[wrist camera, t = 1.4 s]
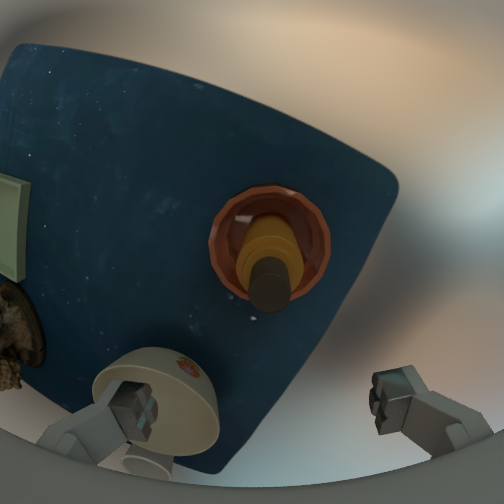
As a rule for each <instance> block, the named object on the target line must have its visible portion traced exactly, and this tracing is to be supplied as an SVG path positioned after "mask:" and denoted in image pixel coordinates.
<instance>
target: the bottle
mask: <svg viewBox="0 0 504 504" xmlns="http://www.w3.org/2000/svg"><path fill="white" fill-rule="evenodd" d="M303 271H304V264H303V259H302V256H301V253H300V250H299V247H298V244H297V241H296V238H295V235H294V232H293V229H292V226H291V224H290V223H289V221H288V220H287V219H286V218H285V217H283V216H282V215H280V214H277V213H273V212H267V213H263V214H260V215H258V216H256V217H255V218H254V219H253V220H252V221H251V223H250V224H249V226H248V229H247V232H246V235H245V238H244V241H243V243H242V246H241V249H240V252H239V255H238V258H237V262H236V273H237V277H238V280H239V282H240V283H241V285H242V286H243V288H244V289H245V290H246V291H248V298H249V301H250V303H251V304H252V305H253V306H254V307H255V308H256V309H257V310H259V311H261V312H265V313H274V312H278V311H280V310H282V309H283V308H285V307H286V306H287V304H288V303H289V301H290V299H291V292H292V291H293V290H294V289H295V288H296V287H297V286H298V284H299V283H300V281H301V279H302V276H303Z"/></svg>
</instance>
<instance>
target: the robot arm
mask: <svg viewBox="0 0 504 504" xmlns="http://www.w3.org/2000/svg"><path fill="white" fill-rule="evenodd" d="M372 384H373V388H372V389H371V390H370V394H369V405H370V410H371V413H372V414H373V415H374V416H376V419H375V425H376V428H377V430H378V434H379V435H384V434H389V433H394V432H399V431H401V432H402V433H403V434H404V435H405V436H407V437H408V438H409V439H411V440H412V441H413V442H414V443H416V444H417V445H418V446H420V447H421V448H422V449H424V450H425V451H426V452H428V453H429V454H430V455H432V457H431V459H430V460H428V461H424V462H421V463H418V464H414V465H411V466H407V467H404V468H400V469H397V470H393V471H388V472H384V473H379V474H375V475H370V476H366V477H360V478H355V479H349V480H343V481H336V482H329V483H321V484H312V485H302V486H287V487H257V488H256V487H247V488H246V487H221V486H206V485H195V484H186V483H178V482H171V481H164V480H158V479H152V478H146V477H141V476H136V475H132V474H127V473H123V472H118V471H114V470H110V469H106V468H103V467H99V466H97V464H98V463H100V462H101V461H102V460H104V459H105V458H106V457H107V456H109V455H110V454H111V453H112V452H114V451H115V450H116V449H117V448H119V447H120V446H121V445H122V444H124V443H125V442H126V441H127V439H128V440H135V441H142V442H147V441H148V439H149V436H150V434H151V431H152V429H151V426H150V425H152V424H153V423H155V422H156V419H157V417H158V405H157V402H156V399H154V398H153V397H152V396H151V393H152V389H151V387H150V384H148V383H142V382H133V381H123V380H115V379H114V380H112V381H111V382H110V383H109V385H108V386H107V388H106V389H105V391H104V392H103V394H102V395H101V397H100V398H99V400H98V401H97V403H96V404H91V405H89V406H87V407H85V408H83V409H81V410H80V411H78V412H76V413H74V414H72V415H70V416H68V417H66V418H64V419H62V420H60V421H58V422H56V423H54V424H52V425H50V426H48V428H47V429H46V430H45V432H44V433H43V435H42V436H41V437H40V439H39V440H38V441H37V443H36V444H34V443H31V442H29V441H27V440H24V439H22V438H20V437H18V436H16V435H14V434H11V433H10V432H8V431H6V430H3V429H1V428H0V504H504V429H503V430H501V431H499V432H497V433H495V434H494V432H493V431H492V429H491V428H490V426H489V425H488V423H487V422H486V420H485V419H484V417H483V415H482V414H481V413H480V412H477V411H475V410H473V409H471V408H468V407H467V406H464V405H462V404H460V403H458V402H456V401H454V400H451V399H449V398H447V397H445V396H443V395H441V394H439V393H437V392H435V391H429V390H428V388H427V387H426V385H425V384H424V382H423V380H422V379H421V377H420V376H419V374H418V372H417V371H416V369H415V368H414V366H412V365H409V366H405V367H401V368H397V369H391V370H386V371H381V372H375V373H373V376H372Z"/></svg>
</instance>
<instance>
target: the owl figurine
mask: <svg viewBox="0 0 504 504" xmlns="http://www.w3.org/2000/svg"><path fill="white" fill-rule="evenodd" d="M22 291H23V290H22V288H21V287H20V286H19V285H17V284H16V283H14V282H12V281H5V282H4V283H2V284H1V285H0V391H4V390H5V389H11V388H13V387H15V388H16V389H21V388H22V385H21V384H20V380H21V378H22V374H21V369H20V365H19V363H17V360H19V361H20V362H22V363H23V364H25V365H29V366H31V367H37V366H39V365H40V364H41V363H42V362H43V361H44V358H45V352H46V350H45V349H43V350H42V351H41V352H40V350H41V349H42V348H45V338H44V334H43V330H42V326H41V323H40V321H39V318H38V316H37V313H36V311H35V308H34V306H33V304H32V303H31V301H30V299H29V298H28V296H27V295H26V294H25V293H23V292H22Z"/></svg>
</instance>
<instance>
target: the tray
mask: <svg viewBox="0 0 504 504" xmlns="http://www.w3.org/2000/svg"><path fill="white" fill-rule="evenodd" d="M30 189H31V183H30V182H27V181H24V180H21V179H18V178H15V177H11V176H8V175H5V174H2V173H0V273H1V274H3V275H4V276H6V277H8V278H9V279H11V280H13V281H14V282H16V283H18V282H20V281H21V280H23V279H25V278H26V233H27V218H28V207H29V198H30Z"/></svg>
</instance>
